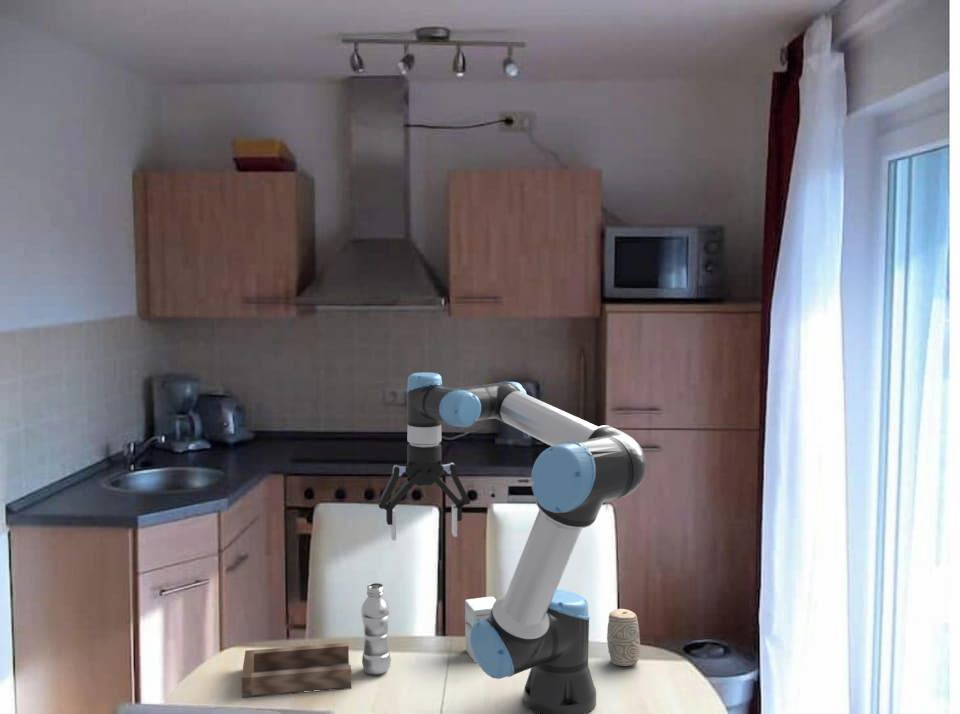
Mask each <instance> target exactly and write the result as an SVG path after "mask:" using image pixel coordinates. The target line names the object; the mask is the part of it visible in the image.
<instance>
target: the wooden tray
mask: <svg viewBox="0 0 960 714" xmlns="http://www.w3.org/2000/svg"><path fill="white" fill-rule="evenodd" d="M349 649H350V648H349V642H338V643H337V642H335V643H326V644H325V643H324V644H314V645H313V644H312V645H300V646H299V645H298V646H288V647H286V646H285V647H273V648H272V647H271V648H263V649H251V650H249V649H246V650H245V652H244V658H243V666H242V672H241V678H240V679H241V698H242V699H246V698H255V697H256V698H257V696H258V697H268V695H269V696H278V695H289V693H292V694H299V693H298V692H303V693H305V692H304V691H314V690H326V691H330V690H329V689H337V690H345V689H344V688H349V689H352V666H351V664H350V662H349V661H350V659H349V658H350V656H349Z"/></svg>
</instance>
